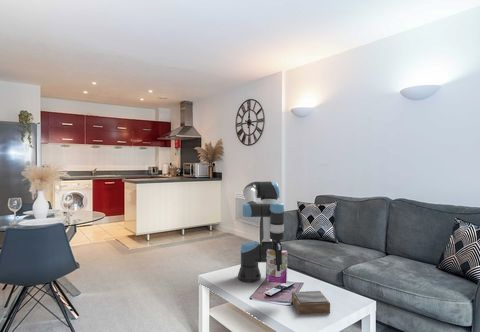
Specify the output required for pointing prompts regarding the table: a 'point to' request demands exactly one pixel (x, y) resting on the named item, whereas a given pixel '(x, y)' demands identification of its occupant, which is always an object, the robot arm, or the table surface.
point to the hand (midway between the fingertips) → (276, 273)
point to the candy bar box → (271, 267)
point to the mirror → (310, 302)
